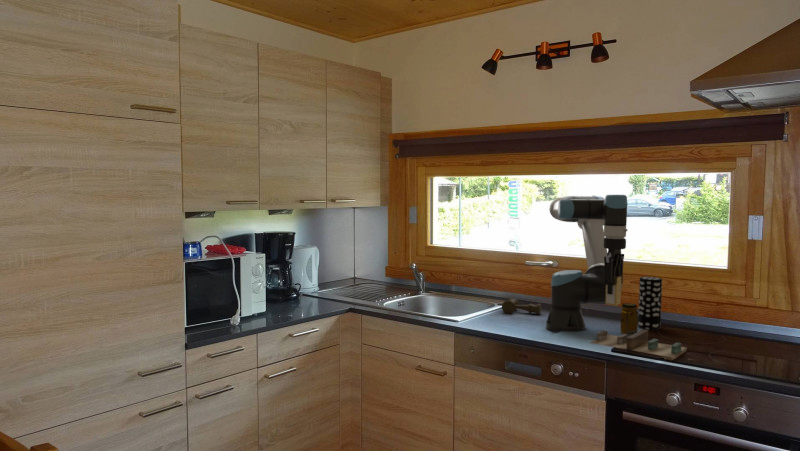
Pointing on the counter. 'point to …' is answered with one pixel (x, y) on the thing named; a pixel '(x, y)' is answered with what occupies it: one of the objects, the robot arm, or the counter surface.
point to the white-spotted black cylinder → (650, 303)
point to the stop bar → (616, 291)
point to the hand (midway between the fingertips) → (612, 301)
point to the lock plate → (642, 348)
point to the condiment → (629, 318)
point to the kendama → (519, 307)
